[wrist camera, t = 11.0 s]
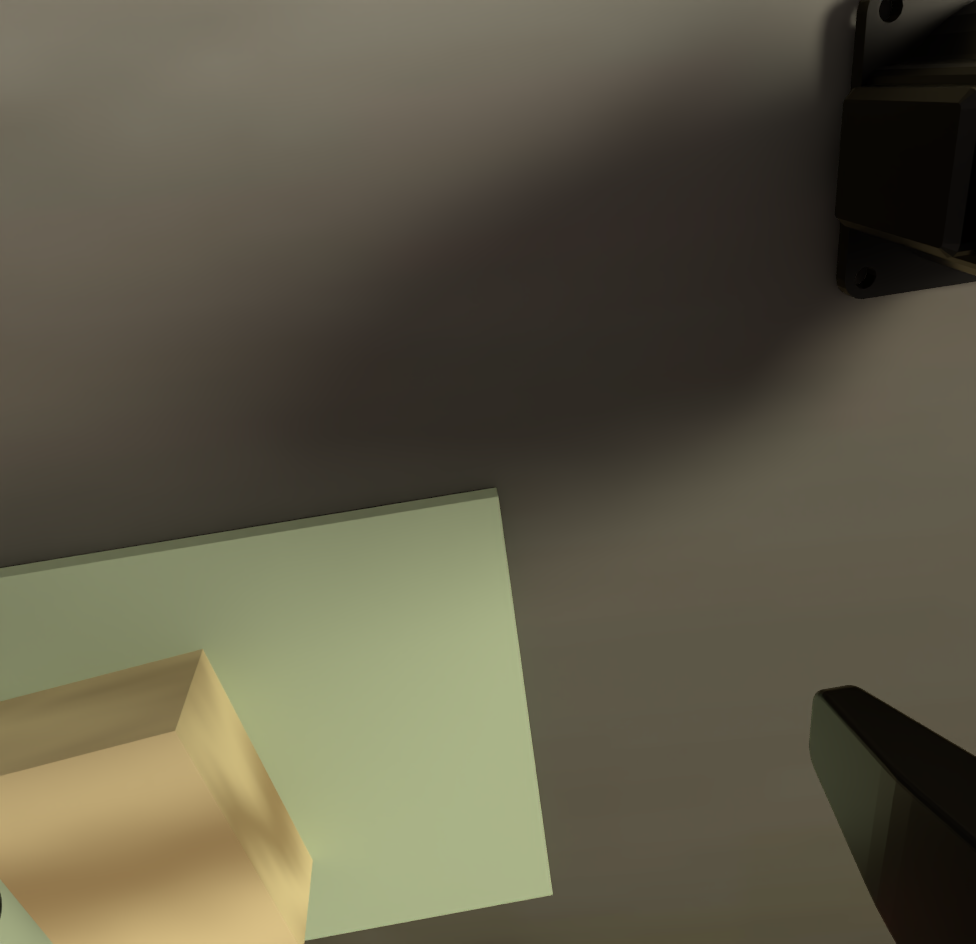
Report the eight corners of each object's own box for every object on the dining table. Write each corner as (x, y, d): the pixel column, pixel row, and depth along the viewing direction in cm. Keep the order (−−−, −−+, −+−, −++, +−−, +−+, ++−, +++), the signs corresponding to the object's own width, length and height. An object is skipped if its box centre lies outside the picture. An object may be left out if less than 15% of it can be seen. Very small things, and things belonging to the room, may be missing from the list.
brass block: (312, 860, 25) (303, 952, 22) (133, 906, 25) (102, 1004, 23) (202, 648, 21) (175, 730, 18) (-12, 704, 21) (-70, 794, 18)
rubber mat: (496, 487, 20) (498, 496, 20) (550, 881, 28) (552, 894, 27) (-371, 628, 20) (-389, 641, 19) (-80, 997, 27) (-89, 1013, 26)
